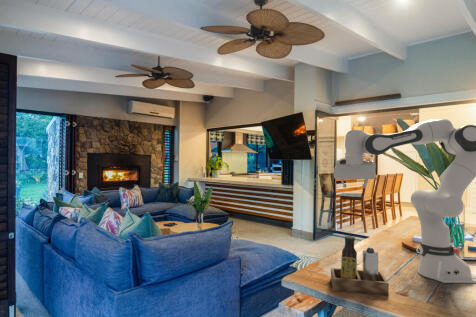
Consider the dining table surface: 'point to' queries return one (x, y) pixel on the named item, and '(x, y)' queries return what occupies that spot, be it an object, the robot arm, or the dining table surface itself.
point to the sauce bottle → (349, 259)
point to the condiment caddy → (359, 283)
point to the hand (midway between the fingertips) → (354, 187)
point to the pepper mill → (370, 264)
